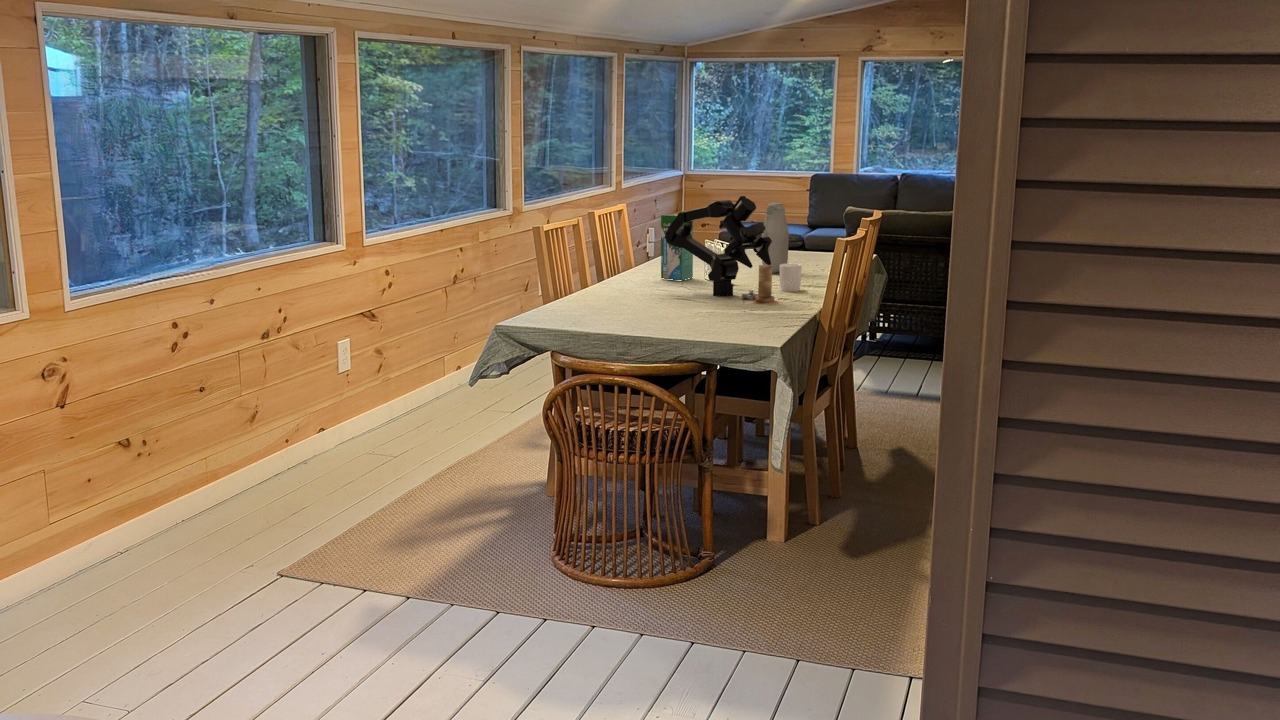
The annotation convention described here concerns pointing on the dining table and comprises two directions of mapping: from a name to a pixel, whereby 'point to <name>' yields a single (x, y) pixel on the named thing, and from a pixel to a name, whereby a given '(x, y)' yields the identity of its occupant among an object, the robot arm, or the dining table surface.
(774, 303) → the gear board
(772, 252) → the grey bottle
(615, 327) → the dining table surface
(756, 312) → the dining table surface
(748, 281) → the dining table surface
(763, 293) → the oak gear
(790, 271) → the white cup
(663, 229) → the milk carton
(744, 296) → the metal gear
